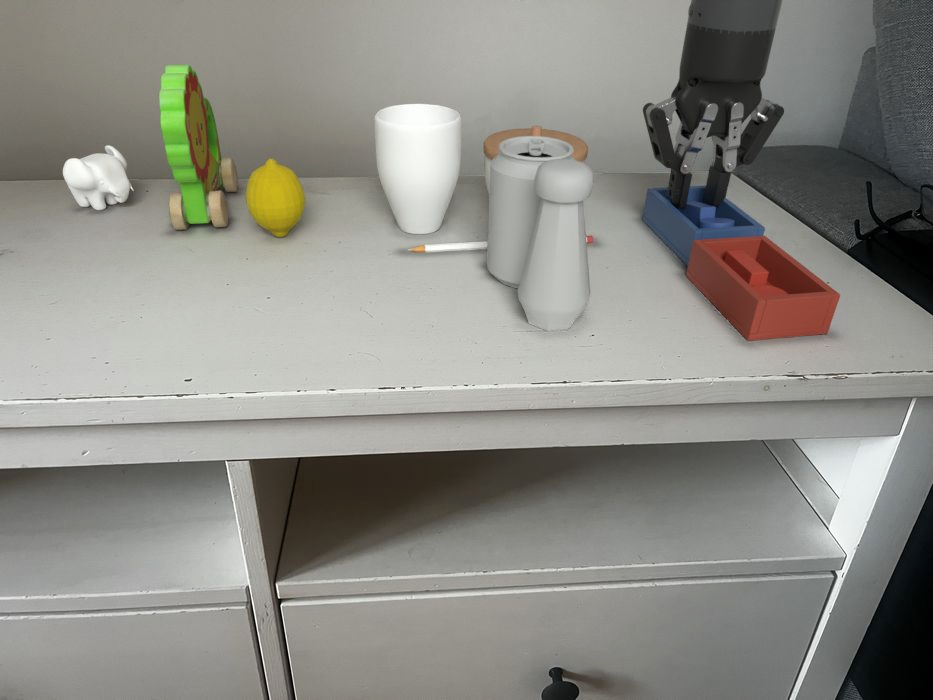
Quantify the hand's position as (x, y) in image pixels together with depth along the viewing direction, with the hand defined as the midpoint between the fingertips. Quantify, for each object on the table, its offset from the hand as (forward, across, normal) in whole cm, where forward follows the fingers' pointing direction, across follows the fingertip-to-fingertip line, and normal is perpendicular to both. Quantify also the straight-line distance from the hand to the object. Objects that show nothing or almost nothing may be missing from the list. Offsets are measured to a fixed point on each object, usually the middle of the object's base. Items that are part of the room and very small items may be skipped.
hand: (694, 204), depth 73 cm
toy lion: (+3, -49, +12) cm, 51 cm away
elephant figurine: (+3, -60, +16) cm, 63 cm away
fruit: (+3, -41, +5) cm, 42 cm away
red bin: (+3, -1, -15) cm, 15 cm away
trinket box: (+3, -15, +7) cm, 17 cm away
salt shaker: (+3, -19, -15) cm, 24 cm away
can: (+3, -19, -7) cm, 20 cm away
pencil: (+4, -20, 0) cm, 20 cm away
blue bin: (+3, 0, -2) cm, 4 cm away
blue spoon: (+2, 0, -3) cm, 3 cm away
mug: (+3, -27, +8) cm, 28 cm away
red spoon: (+3, -1, -14) cm, 15 cm away
